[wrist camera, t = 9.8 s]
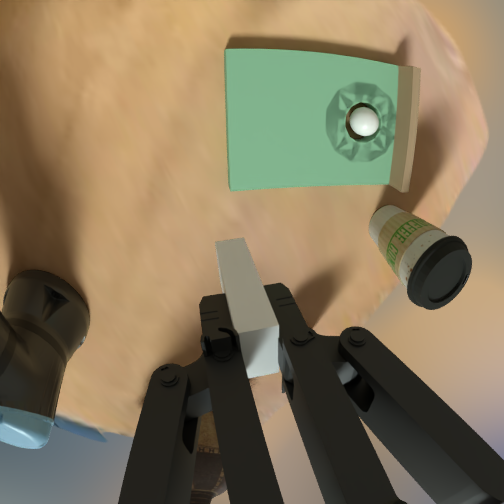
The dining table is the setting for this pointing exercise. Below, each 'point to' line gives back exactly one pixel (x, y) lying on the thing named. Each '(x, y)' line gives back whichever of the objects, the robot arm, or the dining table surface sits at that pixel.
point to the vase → (207, 464)
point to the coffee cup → (421, 256)
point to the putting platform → (316, 120)
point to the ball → (364, 121)
